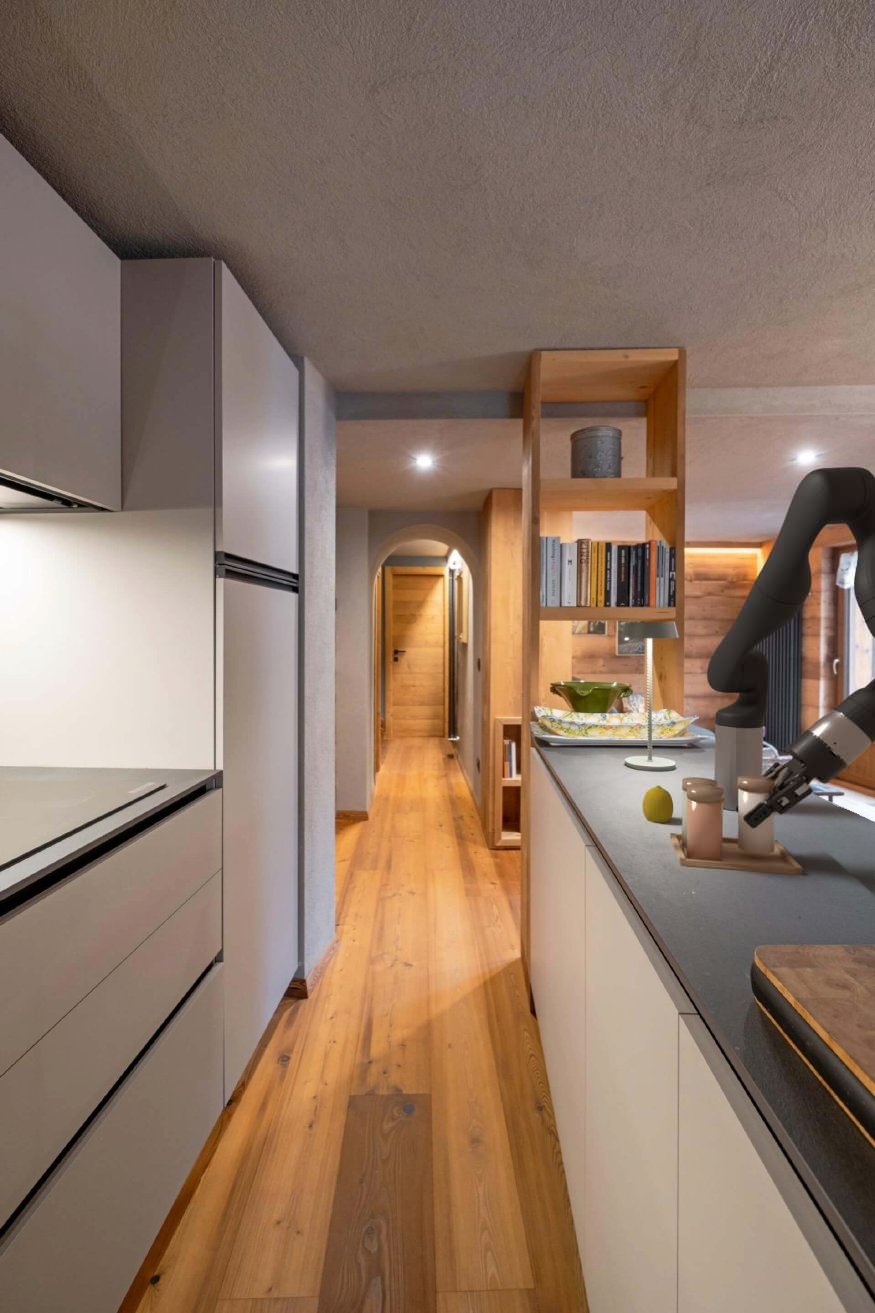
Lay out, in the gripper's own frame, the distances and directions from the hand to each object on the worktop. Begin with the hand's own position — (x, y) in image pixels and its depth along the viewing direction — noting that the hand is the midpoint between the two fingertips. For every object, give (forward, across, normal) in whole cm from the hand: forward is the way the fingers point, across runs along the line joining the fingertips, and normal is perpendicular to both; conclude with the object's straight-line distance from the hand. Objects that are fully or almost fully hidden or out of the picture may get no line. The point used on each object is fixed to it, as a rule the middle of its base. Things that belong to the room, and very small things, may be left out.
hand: (743, 818), depth 107 cm
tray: (+7, 0, +4) cm, 8 cm away
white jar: (+2, 0, +5) cm, 5 cm away
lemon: (+13, -18, -3) cm, 23 cm away
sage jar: (+9, -3, 0) cm, 9 cm away
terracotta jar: (+9, +3, 0) cm, 9 cm away
